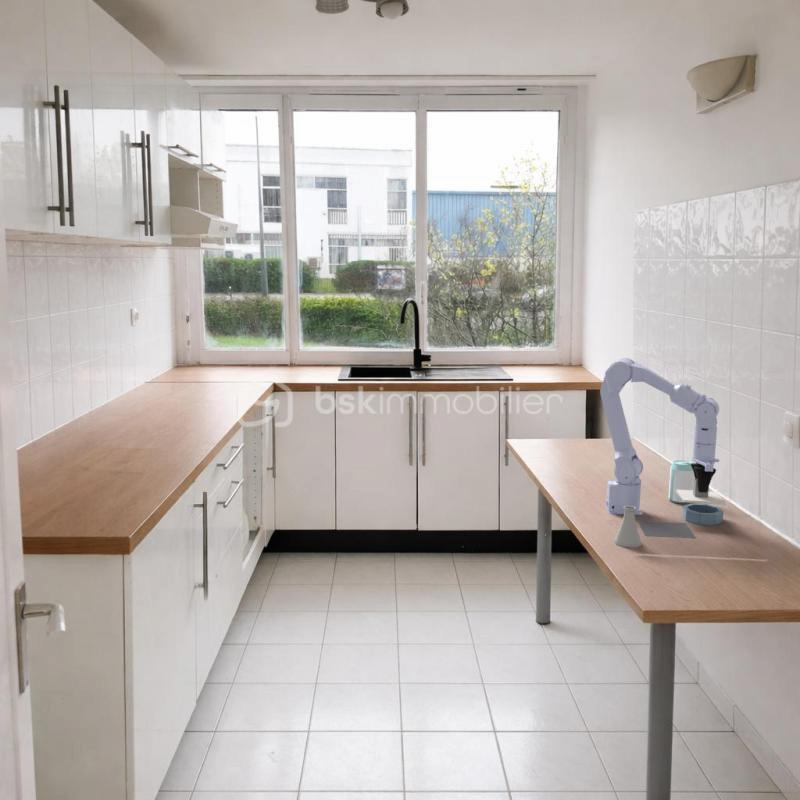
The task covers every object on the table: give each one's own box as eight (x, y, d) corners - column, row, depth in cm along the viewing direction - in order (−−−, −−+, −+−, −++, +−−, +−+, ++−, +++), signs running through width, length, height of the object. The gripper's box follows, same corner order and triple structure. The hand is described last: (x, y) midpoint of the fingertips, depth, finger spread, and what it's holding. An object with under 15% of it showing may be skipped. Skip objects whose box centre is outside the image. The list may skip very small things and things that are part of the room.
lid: (683, 502, 243) (685, 484, 242) (676, 491, 254) (677, 474, 253) (725, 504, 242) (727, 486, 241) (715, 493, 253) (717, 476, 252)
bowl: (687, 525, 246) (688, 513, 245) (680, 514, 255) (681, 503, 255) (725, 527, 245) (726, 514, 244) (716, 516, 255) (717, 504, 254)
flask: (640, 551, 224) (643, 512, 223) (611, 547, 227) (613, 509, 225) (643, 542, 231) (645, 505, 229) (614, 539, 234) (617, 502, 232)
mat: (645, 537, 235) (645, 535, 235) (637, 522, 248) (637, 521, 247) (696, 539, 233) (696, 538, 233) (685, 524, 246) (685, 523, 246)
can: (683, 497, 274) (686, 459, 272) (697, 503, 268) (700, 464, 265) (663, 498, 272) (666, 460, 270) (677, 505, 265) (680, 465, 263)
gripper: (726, 449, 238) (722, 498, 240) (713, 437, 252) (710, 484, 254) (699, 448, 239) (695, 497, 241) (688, 437, 253) (684, 483, 255)
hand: (701, 490), depth 248 cm, fingers closed on lid, 2 cm apart
